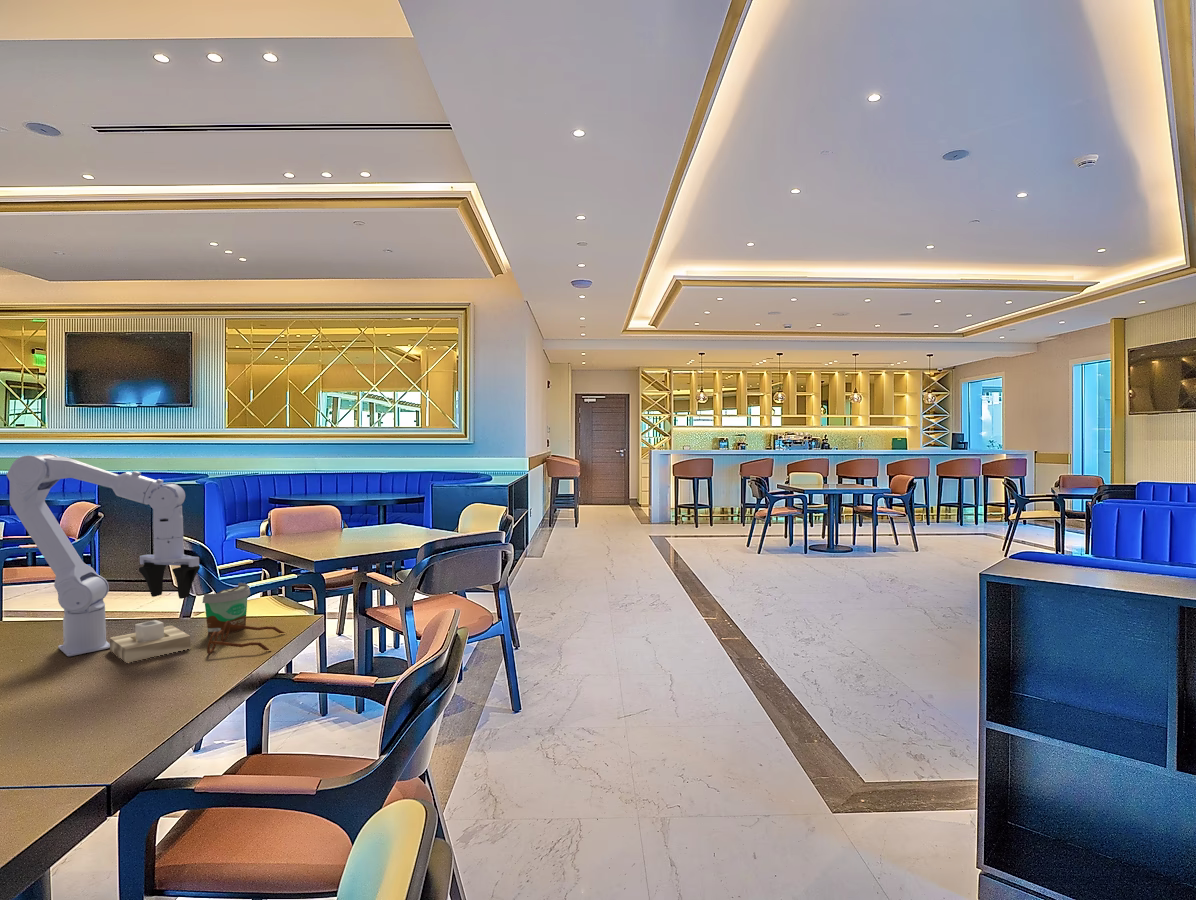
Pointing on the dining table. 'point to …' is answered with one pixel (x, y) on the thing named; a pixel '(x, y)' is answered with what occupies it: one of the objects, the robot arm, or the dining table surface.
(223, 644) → the glasses
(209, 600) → the food container
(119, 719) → the dining table surface
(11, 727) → the dining table surface
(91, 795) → the dining table surface
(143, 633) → the connector plug
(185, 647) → the holder
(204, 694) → the dining table surface
